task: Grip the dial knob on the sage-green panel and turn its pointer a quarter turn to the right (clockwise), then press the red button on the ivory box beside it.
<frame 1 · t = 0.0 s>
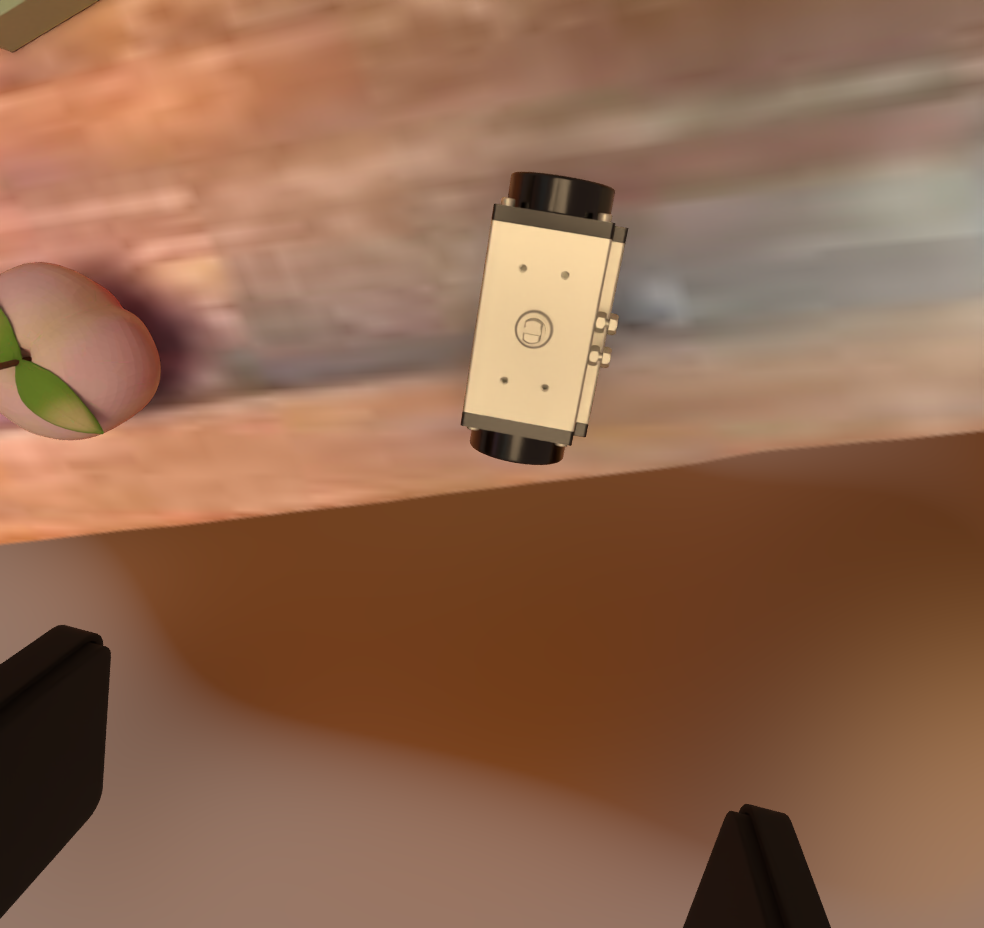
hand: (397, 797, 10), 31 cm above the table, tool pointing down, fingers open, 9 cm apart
pneumatic valve: (554, 312, 39), on the table
decorative fruit: (125, 347, 43), on the table
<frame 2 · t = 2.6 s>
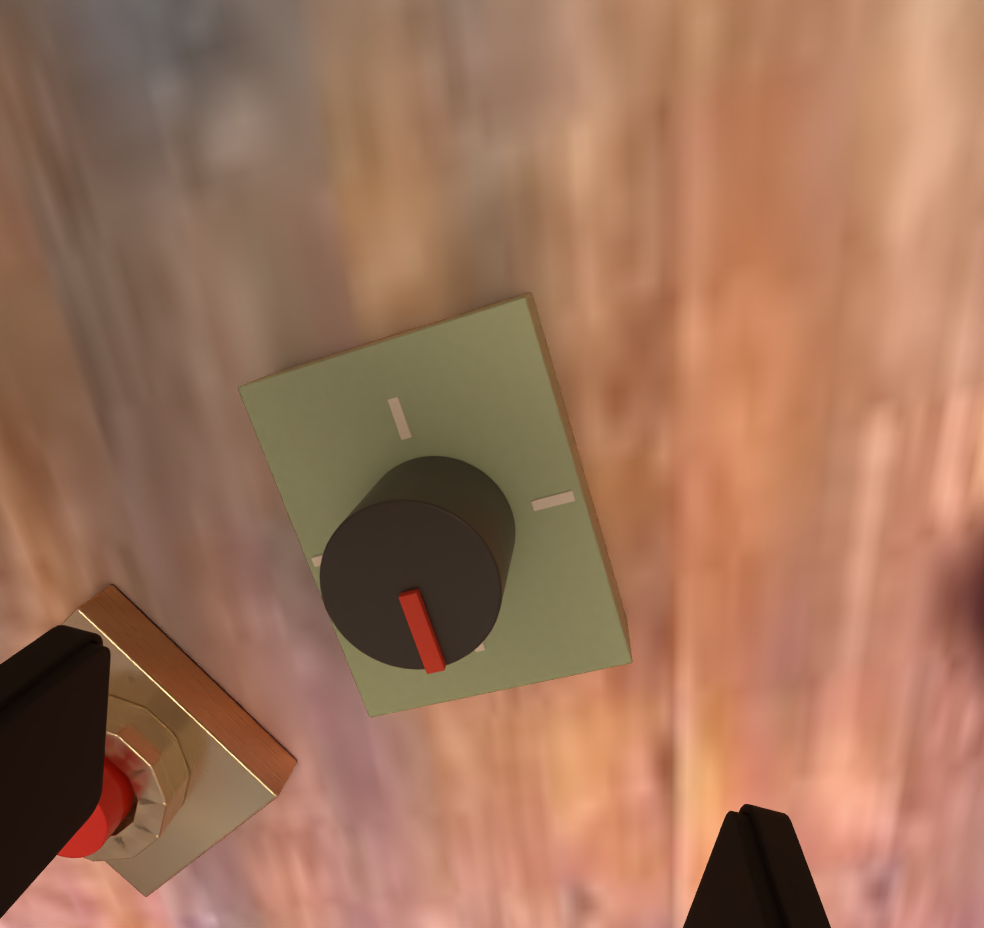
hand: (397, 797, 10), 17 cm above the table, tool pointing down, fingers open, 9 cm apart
dial panel: (453, 500, 27), on the table
button box: (144, 729, 32), on the table
button: (77, 802, 28), point 4 cm above the table, slide at 0.1 cm
dial knob: (424, 558, 22), point 5 cm above the table, hinge at 0.0°
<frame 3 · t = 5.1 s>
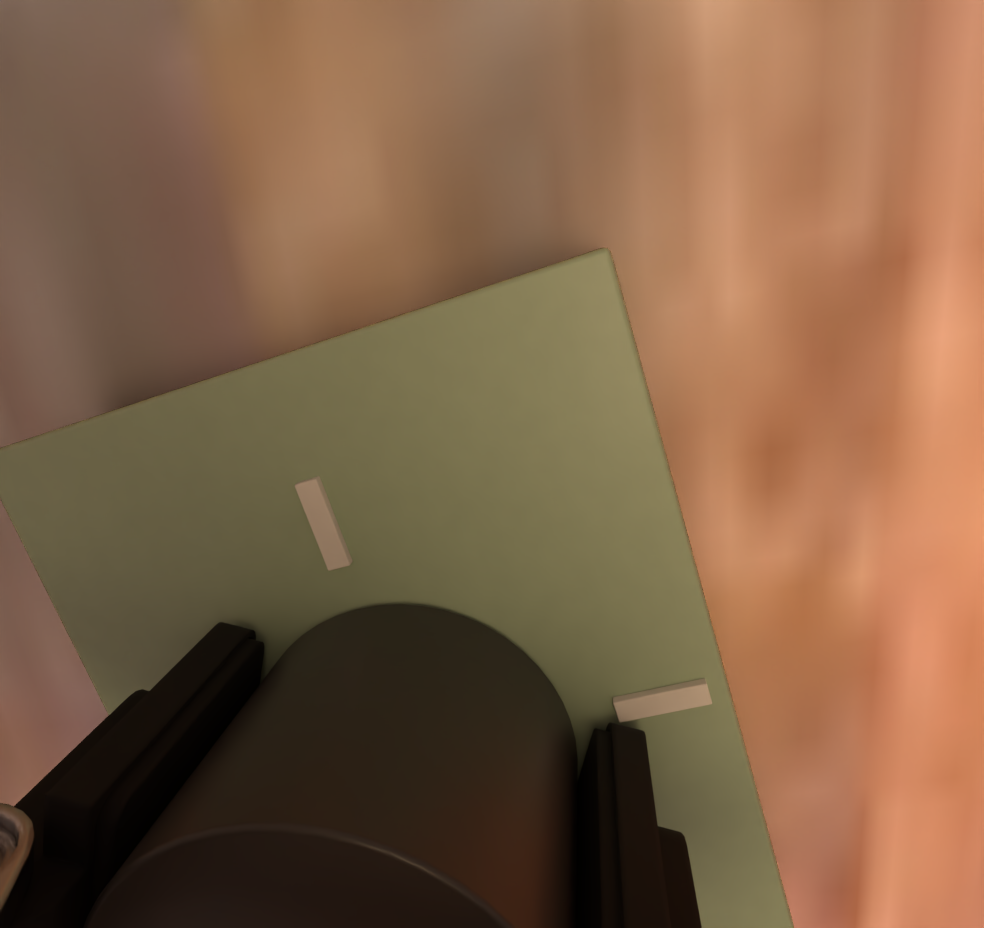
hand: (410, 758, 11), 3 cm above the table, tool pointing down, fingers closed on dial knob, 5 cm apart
dial panel: (448, 651, 14), on the table
dial knob: (372, 871, 9), point 5 cm above the table, hinge at 0.0°, touching gripper
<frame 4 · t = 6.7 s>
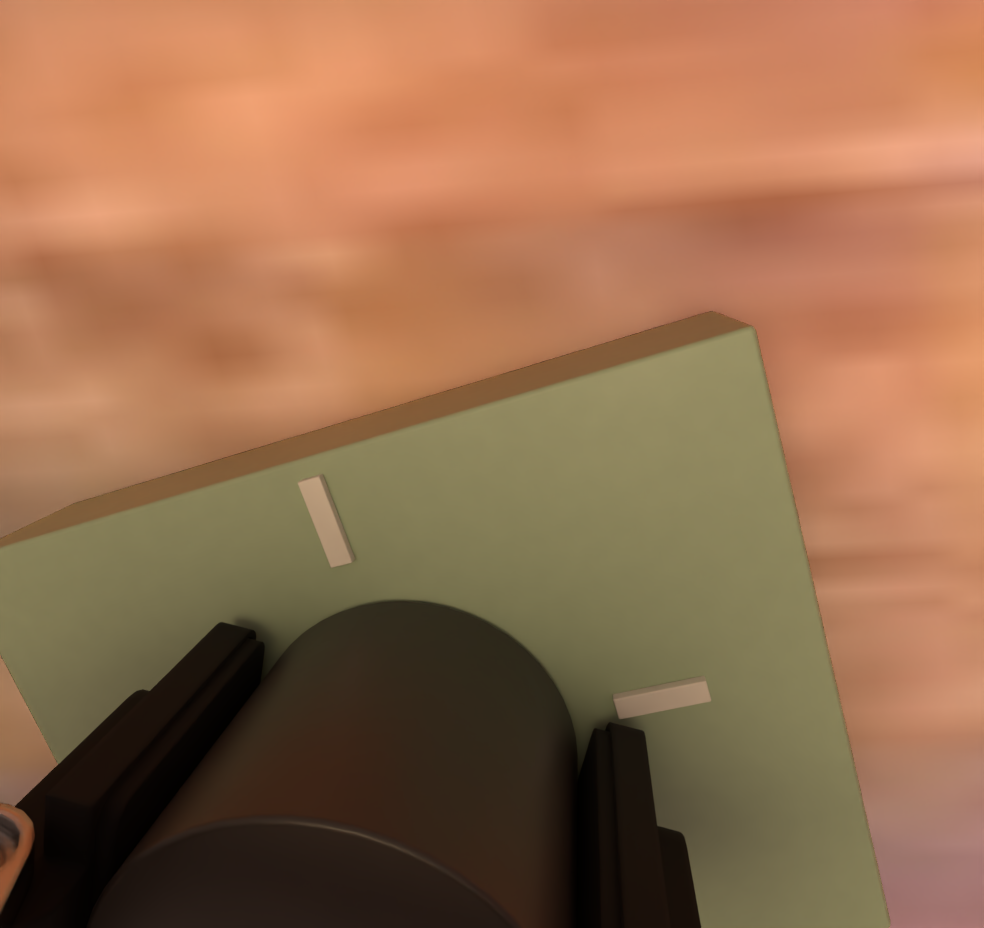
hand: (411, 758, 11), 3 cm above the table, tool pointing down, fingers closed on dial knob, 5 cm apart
dial panel: (448, 648, 14), on the table
dial knob: (374, 866, 9), point 5 cm above the table, hinge at -90.2°, touching gripper
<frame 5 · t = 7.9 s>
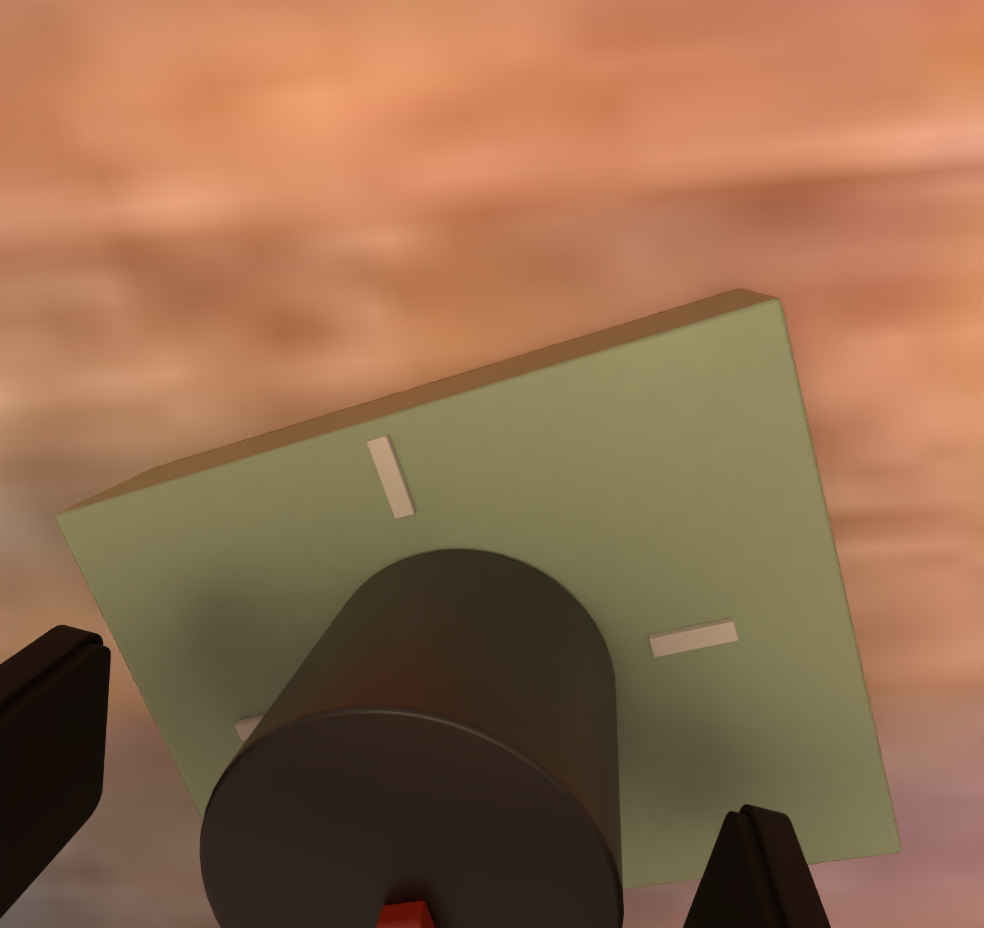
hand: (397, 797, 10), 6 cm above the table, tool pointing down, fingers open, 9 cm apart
dial panel: (492, 603, 16), on the table
dial knob: (439, 775, 11), point 5 cm above the table, hinge at -90.8°
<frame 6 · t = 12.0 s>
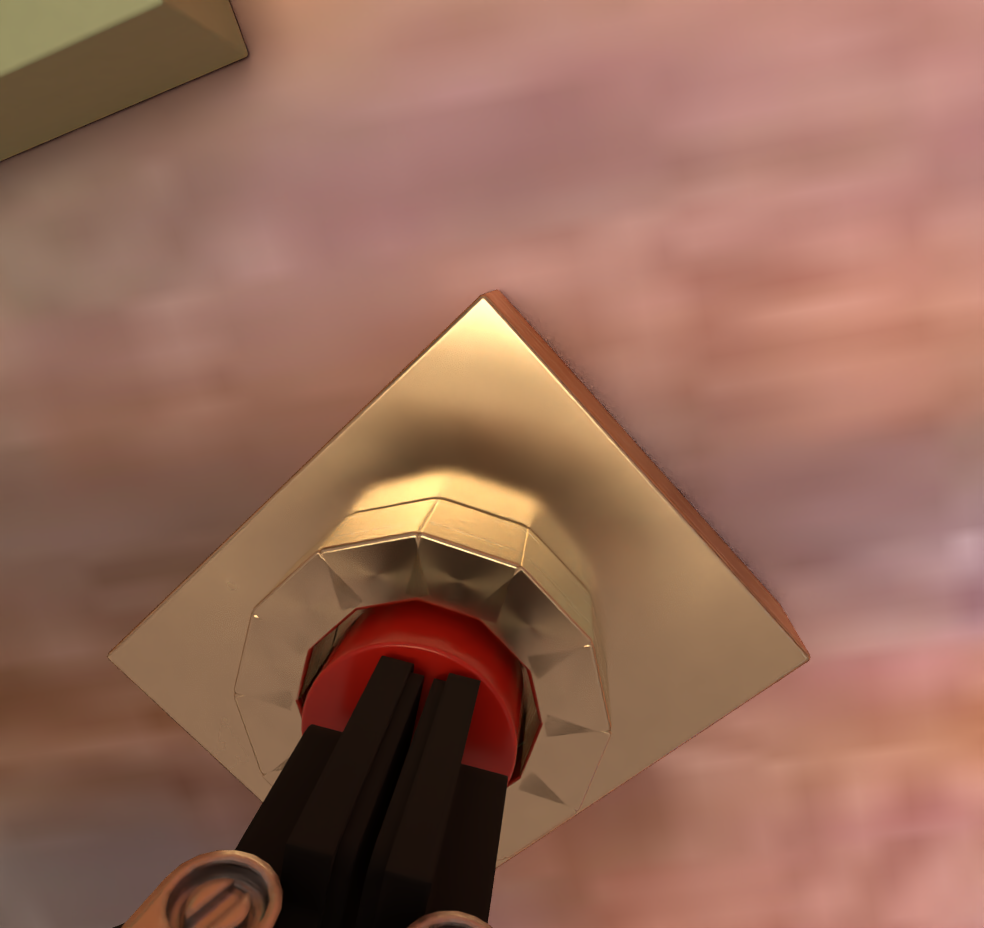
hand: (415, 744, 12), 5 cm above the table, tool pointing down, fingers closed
button box: (454, 607, 16), on the table
button: (417, 710, 13), point 4 cm above the table, slide at -0.5 cm, touching gripper
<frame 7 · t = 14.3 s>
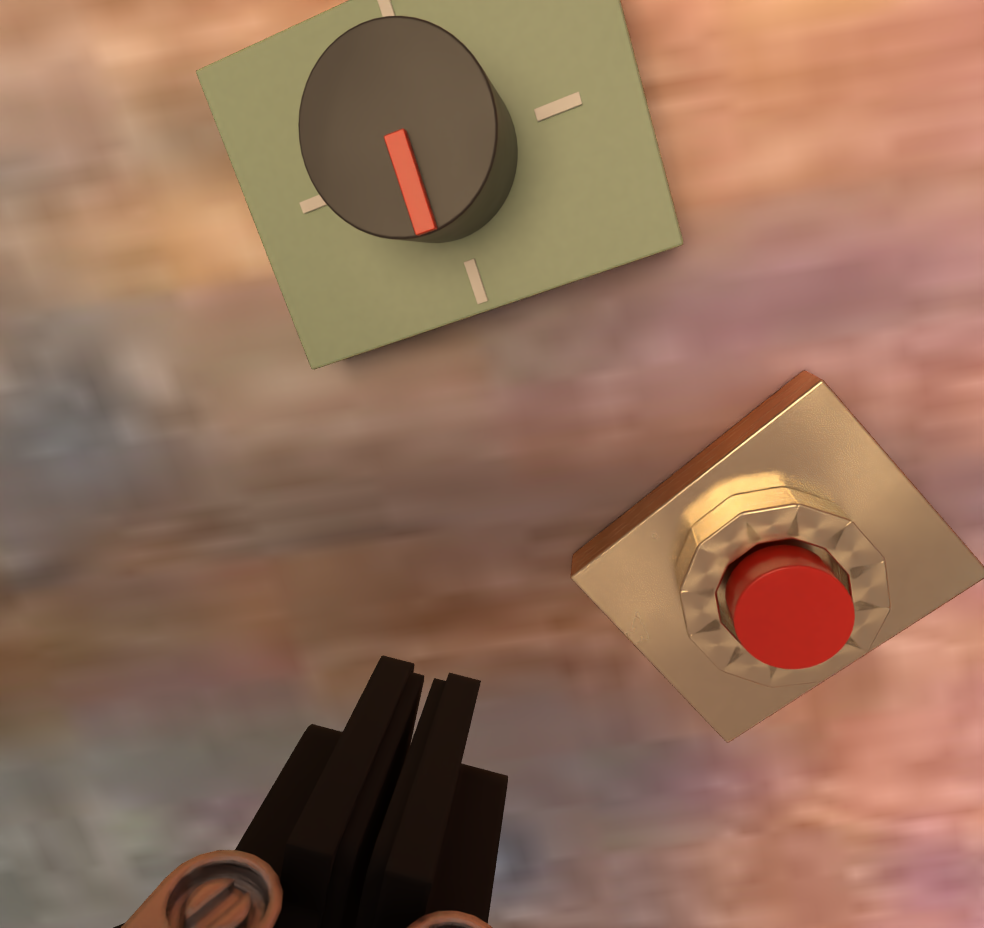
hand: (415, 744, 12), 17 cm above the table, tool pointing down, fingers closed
dial panel: (454, 167, 25), on the table
button box: (758, 552, 27), on the table
button: (787, 606, 23), point 4 cm above the table, slide at 0.1 cm
dial knob: (416, 144, 20), point 5 cm above the table, hinge at -90.8°
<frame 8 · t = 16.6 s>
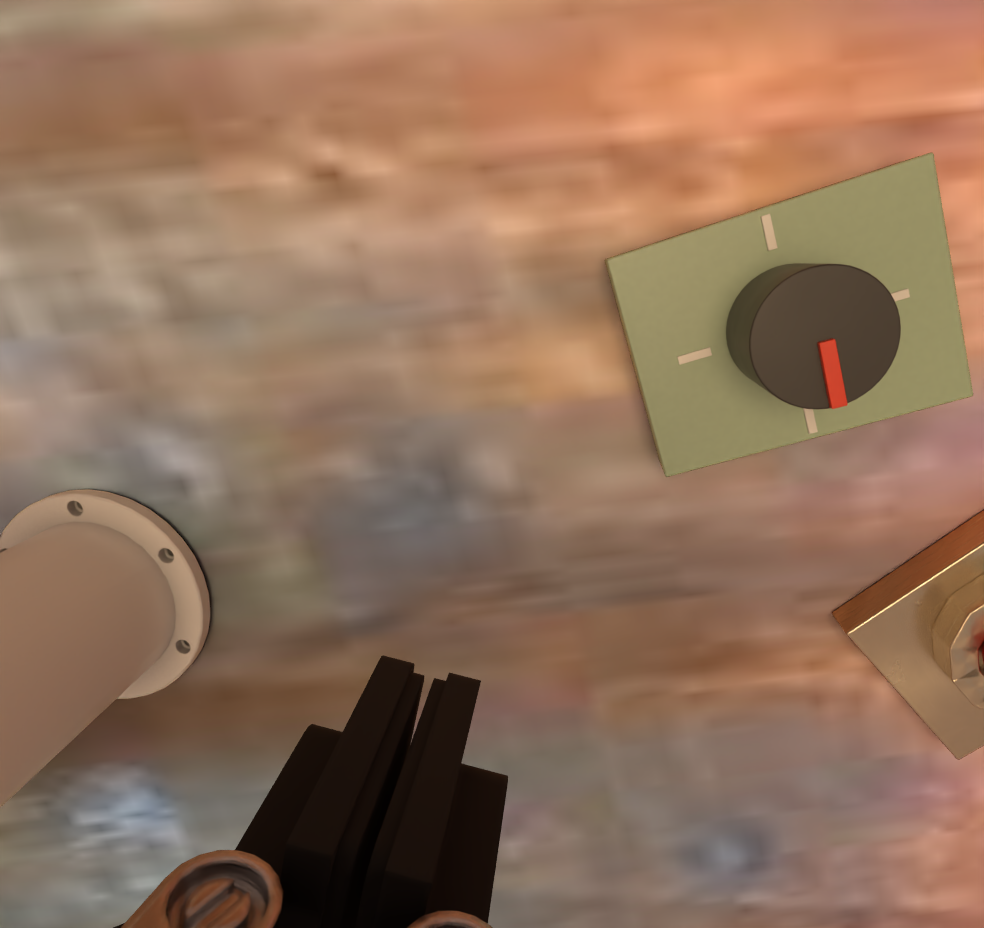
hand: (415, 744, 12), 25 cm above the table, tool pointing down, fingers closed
dial panel: (771, 321, 33), on the table
button box: (982, 612, 35), on the table
dial knob: (806, 333, 28), point 5 cm above the table, hinge at -90.8°
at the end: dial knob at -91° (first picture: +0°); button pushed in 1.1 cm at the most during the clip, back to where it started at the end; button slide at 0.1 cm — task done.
